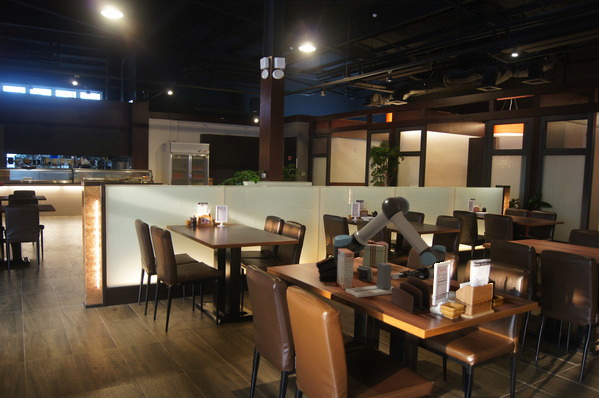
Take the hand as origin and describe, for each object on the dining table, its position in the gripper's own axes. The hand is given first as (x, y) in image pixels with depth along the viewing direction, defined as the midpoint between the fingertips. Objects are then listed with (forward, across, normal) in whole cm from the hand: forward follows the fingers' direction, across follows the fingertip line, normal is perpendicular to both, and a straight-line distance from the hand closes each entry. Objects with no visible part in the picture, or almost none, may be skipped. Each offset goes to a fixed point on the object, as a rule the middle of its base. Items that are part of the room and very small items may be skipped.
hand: (393, 276), depth 243 cm
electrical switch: (+3, +23, -8) cm, 24 cm away
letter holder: (+12, -29, -8) cm, 32 cm away
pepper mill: (-40, -25, -8) cm, 47 cm away
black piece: (+26, +30, -8) cm, 40 cm away
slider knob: (+6, 0, -6) cm, 9 cm away
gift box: (-31, +60, -8) cm, 68 cm away
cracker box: (+22, +15, -8) cm, 28 cm away
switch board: (+13, 0, -8) cm, 15 cm away
